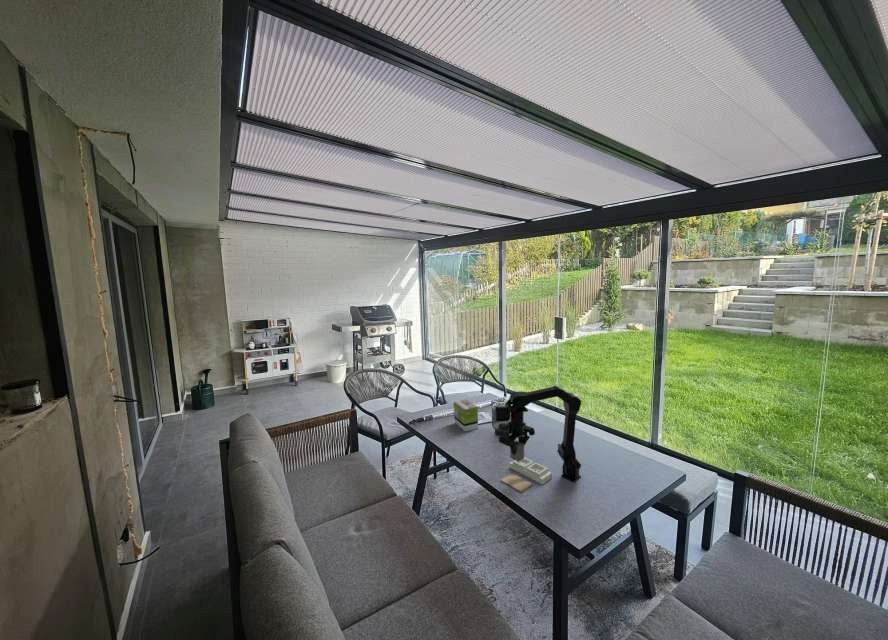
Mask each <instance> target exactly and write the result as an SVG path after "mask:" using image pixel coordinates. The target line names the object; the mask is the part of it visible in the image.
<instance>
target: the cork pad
mask: <svg viewBox="0 0 888 640" xmlns="http://www.w3.org/2000/svg"><path fill="white" fill-rule="evenodd" d="M500 482H502V483H504V484H505V485H507V486H509V487H511V488H512V489H514V490H516V491H518V492H520V494H521V493H523V492H525V491H527V490H528V489H529V488H531V487H532V486H533V485H534V484H533V483H532V482H530V481H528V480H526V479H524V478H523V477H520V476H518V475H517V474H515V473H513V472H512V473H510V474H507V475H506V476H504V477H503V478H501V479H500Z"/></svg>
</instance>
